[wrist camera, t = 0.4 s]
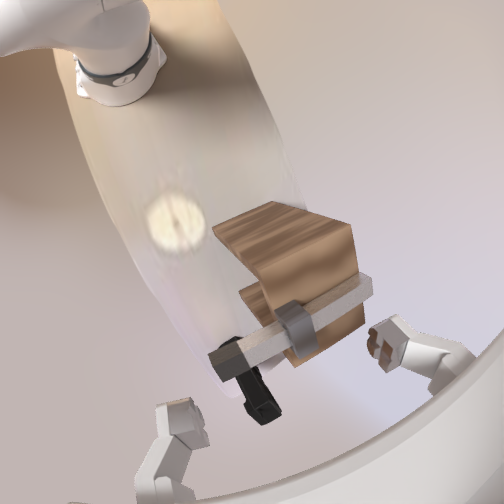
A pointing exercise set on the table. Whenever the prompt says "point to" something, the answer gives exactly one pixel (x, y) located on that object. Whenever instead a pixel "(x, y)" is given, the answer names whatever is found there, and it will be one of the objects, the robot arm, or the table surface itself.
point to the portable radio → (256, 394)
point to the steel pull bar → (276, 335)
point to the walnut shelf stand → (294, 271)
